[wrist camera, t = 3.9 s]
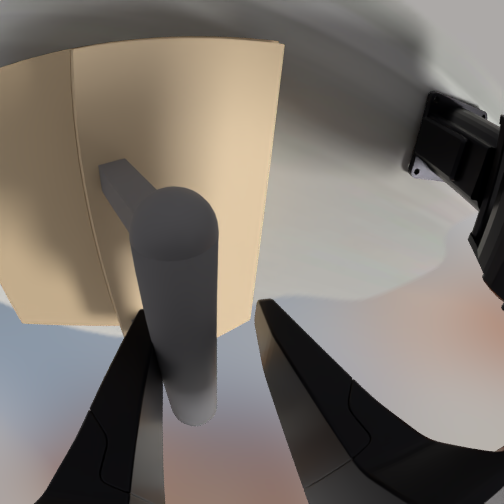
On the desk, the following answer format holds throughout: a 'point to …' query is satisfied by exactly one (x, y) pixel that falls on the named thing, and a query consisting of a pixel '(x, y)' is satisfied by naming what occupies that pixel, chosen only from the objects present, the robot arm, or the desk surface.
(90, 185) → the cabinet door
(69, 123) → the kraft carton
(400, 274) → the desk surface
